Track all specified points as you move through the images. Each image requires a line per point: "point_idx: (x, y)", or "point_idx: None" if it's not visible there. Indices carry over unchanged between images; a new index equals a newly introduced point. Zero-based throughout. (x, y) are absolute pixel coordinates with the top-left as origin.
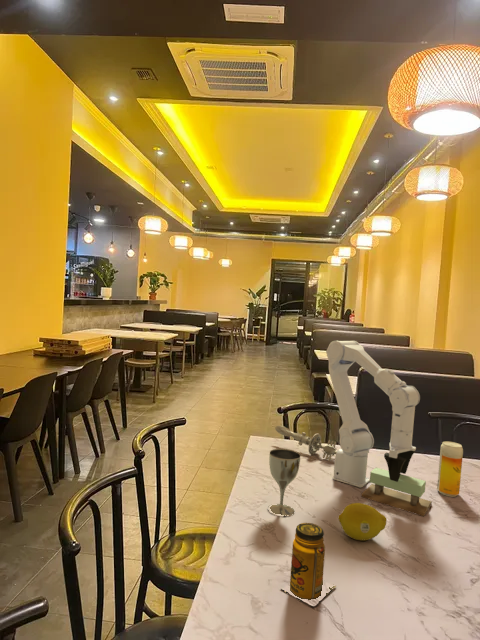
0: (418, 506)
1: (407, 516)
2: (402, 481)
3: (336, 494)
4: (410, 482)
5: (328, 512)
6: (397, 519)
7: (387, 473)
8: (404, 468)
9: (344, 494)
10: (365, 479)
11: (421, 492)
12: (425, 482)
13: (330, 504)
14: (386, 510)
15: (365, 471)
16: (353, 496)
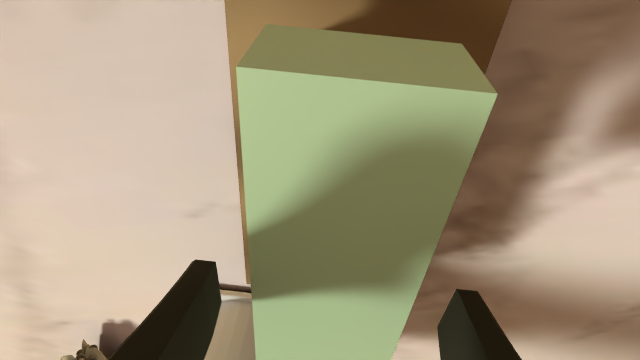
0: (411, 27)
1: (559, 71)
2: (427, 260)
3: (434, 344)
4: (426, 208)
5: (632, 343)
6: (632, 119)
7: (321, 344)
8: (197, 314)
9: (416, 328)
10: (232, 311)
11: (444, 55)
12: (252, 61)
13: (547, 346)
14: (514, 185)
15: (230, 355)
16: (416, 306)
